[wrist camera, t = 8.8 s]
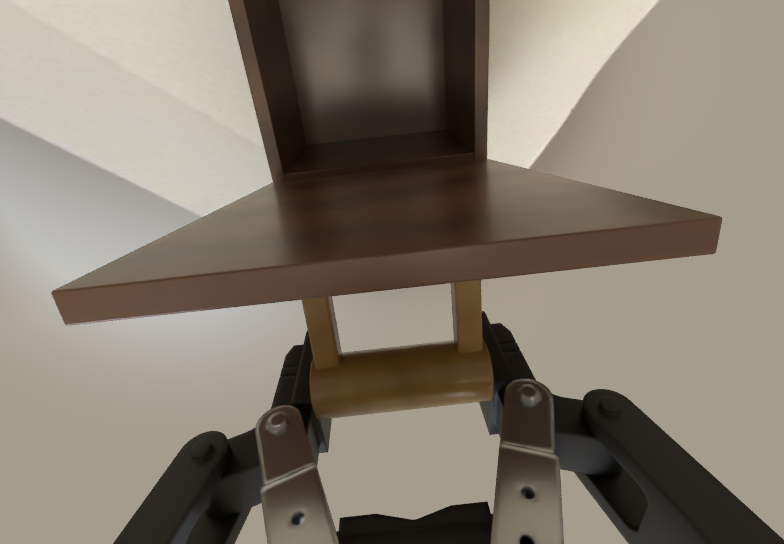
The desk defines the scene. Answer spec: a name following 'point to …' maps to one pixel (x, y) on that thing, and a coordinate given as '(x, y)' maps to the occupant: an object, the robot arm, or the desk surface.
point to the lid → (388, 264)
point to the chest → (366, 83)
